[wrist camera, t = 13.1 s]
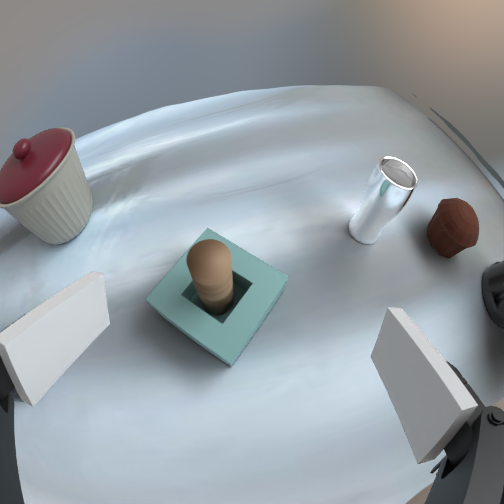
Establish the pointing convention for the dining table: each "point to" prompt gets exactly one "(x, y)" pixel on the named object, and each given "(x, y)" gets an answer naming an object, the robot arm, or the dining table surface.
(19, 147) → the canister
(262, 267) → the socket block
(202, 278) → the dowel pin
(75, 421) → the dining table surface
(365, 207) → the beer glass
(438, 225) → the muffin
